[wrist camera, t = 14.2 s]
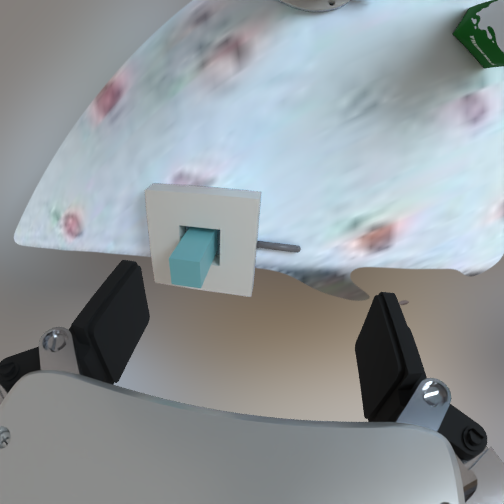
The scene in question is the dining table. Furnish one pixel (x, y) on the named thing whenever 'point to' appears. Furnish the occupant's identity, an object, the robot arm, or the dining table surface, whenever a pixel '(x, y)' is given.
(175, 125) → the dining table surface
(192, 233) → the plug
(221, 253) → the white square-hole board
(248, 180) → the dining table surface
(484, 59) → the milk carton
